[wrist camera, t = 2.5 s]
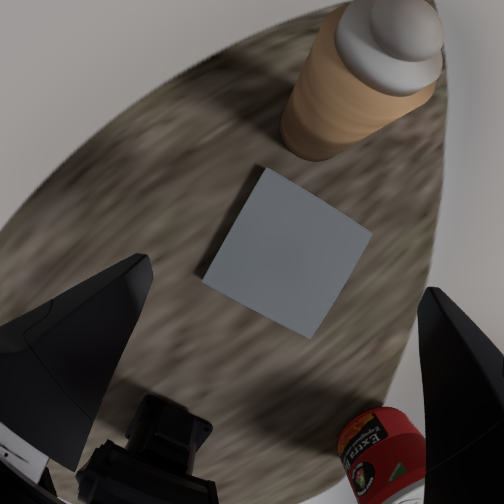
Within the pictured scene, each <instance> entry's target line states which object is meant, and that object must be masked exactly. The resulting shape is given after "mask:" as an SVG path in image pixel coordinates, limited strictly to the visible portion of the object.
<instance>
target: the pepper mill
mask: <svg viewBox="0 0 504 504" xmlns="http://www.w3.org/2000/svg"><path fill="white" fill-rule="evenodd" d="M443 41H444V28H443V24H442V21H441V19H440V17H439V15H438V14H437V12H436V11H435V10H434V9H433V8H432V7H431V6H430V5H429V4H428V3H427V2H425V1H424V0H355V1H353V2H352V3H350V4H349V5H346V6H342V7H339V8H337V9H335V10H334V11H332V12H331V13H330V14H329V15H328V16H327V17H326V19H325V20H324V22H323V24H322V26H321V29H320V31H319V33H318V35H317V37H316V39H315V42H314V44H313V46H312V48H311V50H310V53H309V55H308V57H307V59H306V62H305V64H304V66H303V68H302V71H301V73H300V75H299V77H298V80H297V82H296V84H295V86H294V89H293V91H292V93H291V96H290V98H289V100H288V102H287V105H286V107H285V109H284V112H283V114H282V116H281V119H280V134H281V137H282V140H283V142H284V144H285V145H286V147H287V148H288V149H289V150H290V151H291V152H292V153H293V154H295V155H296V156H298V157H300V158H302V159H304V160H308V161H314V162H319V161H324V160H328V159H330V158H332V157H333V156H335V155H337V154H338V153H340V152H342V151H343V150H345V149H347V148H348V147H350V146H352V145H353V144H355V143H357V142H358V141H360V140H362V139H363V138H365V137H367V136H368V135H370V134H372V133H374V132H375V131H377V130H379V129H380V128H382V127H384V126H386V125H387V124H389V123H391V122H393V121H394V120H396V119H398V118H400V117H401V116H403V115H405V114H407V113H408V112H410V111H412V110H414V109H415V108H417V107H419V106H421V105H422V104H424V103H425V102H426V101H428V100H429V98H430V97H431V96H432V94H433V92H434V89H435V85H436V79H437V78H438V77H439V75H440V73H441V70H442V55H441V51H440V49H441V47H442V44H443Z"/></svg>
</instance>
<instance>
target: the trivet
mask: <svg viewBox="0 0 504 504" xmlns="http://www.w3.org/2000/svg"><path fill="white" fill-rule="evenodd" d="M372 234H373V233H371V232H370V231H368V230H367V229H365V228H364V227H362V226H361V225H359V224H358V223H356V222H355V221H353V220H352V219H350V218H349V217H347V216H346V215H344V214H343V213H341V212H340V211H338V210H336V209H335V208H333V207H332V206H330V205H329V204H327V203H325V202H324V201H322V200H321V199H319V198H317V197H316V196H314V195H313V194H311V193H309V192H308V191H306V190H304V189H303V188H301V187H299V186H298V185H296V184H294V183H293V182H291V181H289V180H288V179H286V178H284V177H283V176H281V175H279V174H277V173H276V172H274V171H272V170H271V169H269V168H267V167H266V169H265V171H264V172H263V174H262V176H261V177H260V179H259V181H258V183H257V184H256V186H255V188H254V189H253V191H252V193H251V195H250V196H249V198H248V200H247V202H246V203H245V205H244V207H243V209H242V210H241V212H240V214H239V216H238V217H237V219H236V221H235V223H234V224H233V226H232V228H231V230H230V231H229V233H228V235H227V237H226V239H225V240H224V242H223V244H222V246H221V247H220V249H219V251H218V253H217V255H216V256H215V258H214V260H213V262H212V264H211V266H210V267H209V269H208V271H207V273H206V275H205V276H204V278H203V280H202V282H203V283H205V284H206V285H208V286H210V287H212V288H214V289H215V290H217V291H219V292H221V293H223V294H225V295H226V296H228V297H230V298H232V299H234V300H236V301H237V302H239V303H241V304H243V305H245V306H247V307H249V308H251V309H253V310H254V311H256V312H258V313H260V314H262V315H264V316H266V317H268V318H270V319H272V320H274V321H276V322H278V323H279V324H281V325H283V326H285V327H287V328H289V329H291V330H293V331H295V332H297V333H299V334H301V335H303V336H305V337H307V338H309V339H311V338H312V336H313V334H314V333H315V331H316V330H317V328H318V327H319V325H320V324H321V322H322V320H323V319H324V317H325V316H326V314H327V313H328V311H329V309H330V308H331V306H332V304H333V303H334V301H335V300H336V298H337V296H338V295H339V293H340V291H341V290H342V288H343V286H344V284H345V283H346V281H347V279H348V278H349V276H350V274H351V272H352V271H353V269H354V267H355V265H356V264H357V262H358V260H359V258H360V257H361V255H362V253H363V251H364V249H365V247H366V246H367V244H368V242H369V240H370V238H371V236H372Z"/></svg>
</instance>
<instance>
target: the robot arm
mask: <svg viewBox="0 0 504 504" xmlns="http://www.w3.org/2000/svg"><path fill="white" fill-rule="evenodd" d="M152 281H153V271H152V267H151V263H150V259H149V257H148V255H146V254H140V253H136V254H134V255H132V256H130V257H128V258H126V259H124V260H122V261H120V262H118V263H117V264H115V265H113V266H111V267H109V268H107V269H105V270H103V271H102V272H100V273H98V274H96V275H94V276H92V277H90V278H89V279H87V280H85V281H83V282H81V283H80V284H78V285H76V286H74V287H72V288H71V289H69V290H67V291H65V292H63V293H62V294H60V295H58V296H56V297H55V298H54V299H51V300H49V301H48V302H46V303H44V304H42V305H41V306H39V307H37V308H35V309H33V310H32V311H30V312H28V313H26V314H24V315H22V316H20V317H18V318H16V319H14V320H12V321H10V322H8V323H6V324H4V325H2V326H0V504H66V503H65V502H63V501H61V500H60V499H58V498H57V497H58V496H57V494H56V491H55V488H54V485H53V482H52V479H51V476H50V473H49V469H48V468H47V467H46V465H47V463H48V461H49V459H50V458H51V459H52V460H54V461H56V462H57V463H59V464H60V465H62V466H64V467H66V468H67V469H69V470H71V471H73V472H75V471H76V468H77V466H78V463H79V460H80V457H81V454H82V452H83V449H84V446H85V443H86V441H87V438H88V435H89V433H90V430H91V428H92V425H93V421H94V419H95V417H96V414H97V412H98V409H99V407H100V404H101V402H102V399H103V397H104V395H105V392H106V390H107V388H108V385H109V383H110V380H111V378H112V376H113V374H114V371H115V369H116V367H117V364H118V362H119V360H120V358H121V355H122V353H123V351H124V349H125V347H126V345H127V342H128V340H129V338H130V336H131V334H132V332H133V330H134V327H135V325H136V323H137V321H138V319H139V316H140V314H141V311H142V308H143V306H144V303H145V300H146V297H147V295H148V292H149V289H150V286H151V284H152ZM417 316H418V334H419V355H420V365H421V373H422V383H423V393H424V394H423V395H424V409H425V435H426V465H425V472H426V473H425V486H424V500H423V504H504V355H503V354H502V353H501V352H500V350H499V349H498V348H497V347H496V346H495V345H494V344H493V343H492V341H491V340H490V339H489V338H488V337H487V336H486V335H485V334H484V333H483V332H482V331H481V329H480V328H479V327H478V326H477V325H476V324H475V323H474V322H473V321H472V320H471V319H470V318H469V317H468V316H467V315H466V314H465V313H464V312H463V311H462V310H461V309H460V308H459V307H458V306H457V305H456V304H455V303H454V302H453V301H452V300H451V299H450V298H449V297H448V296H447V295H446V294H445V293H444V292H443V291H442V290H441V289H440V288H438V287H427V288H426V290H425V292H424V294H423V296H422V299H421V301H420V303H419V305H418V310H417ZM147 399H149V400H151V402H150V401H148V400H147ZM205 427H208V429H207V428H205ZM212 430H213V426H212V424H210V423H208V422H206V421H204V420H201V419H199V418H197V417H195V416H192V415H190V414H188V413H186V412H184V411H182V410H180V409H178V408H175V407H173V406H171V405H169V404H167V403H165V402H163V401H161V400H159V399H158V398H156V397H154V396H152V395H146V396H145V397H144V399H143V401H142V403H141V405H140V407H139V409H138V411H137V413H136V415H135V417H134V419H133V421H132V423H131V425H130V427H129V429H128V431H127V433H126V435H125V436H126V438H127V439H128V443H127V445H126V447H125V449H124V448H122V447H120V446H118V445H116V444H114V442H112V441H111V440H109V439H107V441H106V442H105V444H104V445H103V444H102V445H101V446H100V448H96V449H95V451H94V452H93V454H92V456H91V458H90V459H89V461H88V462H87V463H86V464H85V465H84V466H83V467H82V468H81V469H79V470H78V472H77V474H76V480H77V482H78V484H79V488H78V491H79V494H78V500H79V501H81V502H83V503H85V504H219V501H218V496H217V490H216V485H215V482H214V481H211V480H204V479H200V478H197V477H194V476H192V472H193V466H194V460H195V453H196V452H197V451H198V449H199V448H200V447H201V445H202V444H203V443H204V442H205V440H206V439H207V438H208V436H209V435H210V434H211V432H212Z"/></svg>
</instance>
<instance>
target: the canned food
mask: <svg viewBox="0 0 504 504" xmlns="http://www.w3.org/2000/svg"><path fill="white" fill-rule="evenodd" d="M338 454H339V457H340V459H341V462H342V464H343V467H344V469H345V472H346V474H347V477H348V479H349V481H350V484H351V487H352V489H353V492H354V494H355V497H356V499H357V502H358V504H423V500H424V486H425V473H426V472H425V465H426V439H425V438H424V437H423V435H421V433H420V432H419V431H418V429H417V428H416V427H415V426H414V424H413V423H412V422H411V421H410V419H409V418H408V417H407V416H406V414H404V413H403V412H401V411H399V410H398V409H395V408H392V407H379V408H374V409H371V410H369V411H366V412H364V413H362V414H360V415H359V416H357V417H356V418H354V419H353V420H352V421H351V422H349V423H348V424H347V425H346V427H345V428H344V429H343V431H342V432H341V434H340V436H339V439H338Z"/></svg>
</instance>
